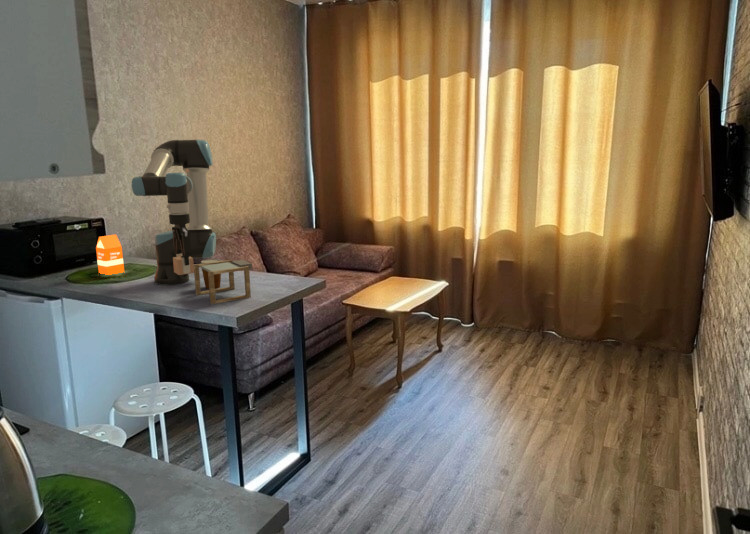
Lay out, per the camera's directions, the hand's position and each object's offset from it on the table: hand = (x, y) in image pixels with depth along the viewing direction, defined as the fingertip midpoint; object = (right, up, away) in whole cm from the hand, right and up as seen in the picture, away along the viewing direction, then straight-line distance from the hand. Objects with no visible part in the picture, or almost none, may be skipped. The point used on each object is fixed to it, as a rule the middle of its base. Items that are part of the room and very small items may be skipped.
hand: (184, 271), depth 223 cm
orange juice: (-52, -3, +51) cm, 73 cm away
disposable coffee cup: (+3, -8, +28) cm, 29 cm away
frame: (+12, -10, +13) cm, 21 cm away
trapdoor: (+14, 0, +12) cm, 19 cm away
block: (0, 0, 0) cm, 0 cm away
